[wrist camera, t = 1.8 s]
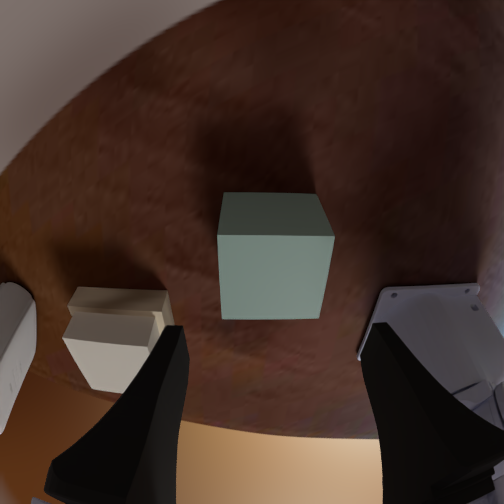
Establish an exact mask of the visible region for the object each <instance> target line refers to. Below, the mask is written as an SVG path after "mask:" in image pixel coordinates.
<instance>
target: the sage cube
mask: <svg viewBox="0 0 504 504" xmlns="http://www.w3.org/2000/svg"><path fill="white" fill-rule="evenodd" d="M334 239H335V235H334V233H333V230H332V228H331V226H330V223H329V221H328V219H327V217H326V214H325V212H324V210H323V208H322V205H321V203H320V201H319V199H318V197H317V195H316V194H303V193H256V192H224V194H223V201H222V207H221V213H220V220H219V227H218V233H217V240H218V260H219V278H220V294H221V310H222V319H310V318H319V314H320V310H321V305H322V301H323V296H324V291H325V286H326V281H327V276H328V271H329V266H330V261H331V256H332V250H333V245H334Z"/></svg>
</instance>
